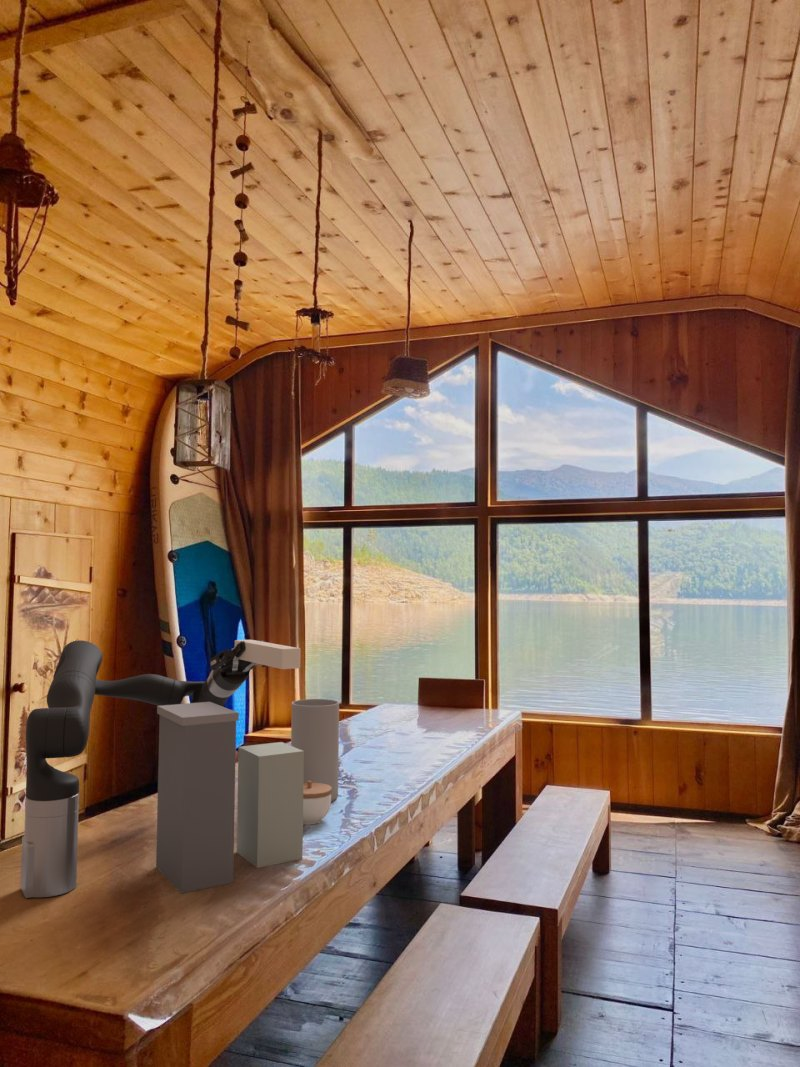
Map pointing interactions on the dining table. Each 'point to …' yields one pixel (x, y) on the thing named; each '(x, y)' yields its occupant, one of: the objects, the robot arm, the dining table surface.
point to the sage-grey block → (270, 803)
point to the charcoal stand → (196, 795)
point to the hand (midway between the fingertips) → (253, 644)
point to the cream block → (271, 654)
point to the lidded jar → (315, 802)
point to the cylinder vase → (317, 739)
